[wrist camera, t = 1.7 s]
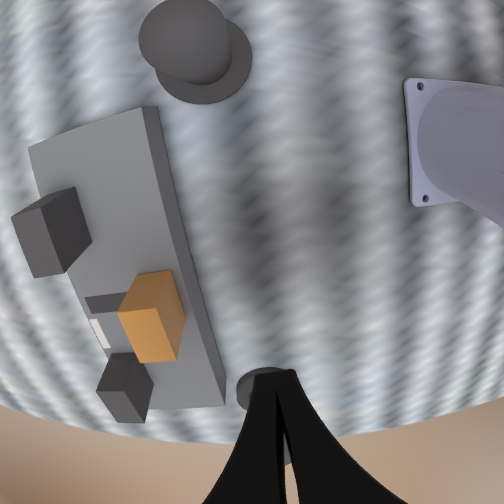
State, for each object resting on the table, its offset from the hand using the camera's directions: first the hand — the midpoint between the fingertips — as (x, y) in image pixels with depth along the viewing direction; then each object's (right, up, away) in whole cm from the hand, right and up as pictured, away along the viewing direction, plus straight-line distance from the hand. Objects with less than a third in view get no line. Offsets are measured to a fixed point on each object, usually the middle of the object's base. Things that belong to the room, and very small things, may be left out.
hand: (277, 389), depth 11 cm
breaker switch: (-6, +2, +7) cm, 9 cm away
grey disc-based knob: (-3, +15, +4) cm, 16 cm away
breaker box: (-8, +3, +10) cm, 13 cm away
